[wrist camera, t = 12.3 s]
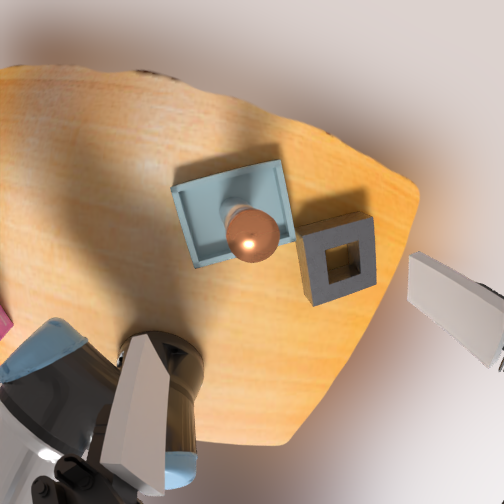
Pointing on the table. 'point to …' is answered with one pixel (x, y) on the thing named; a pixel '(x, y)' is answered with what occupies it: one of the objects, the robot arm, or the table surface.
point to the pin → (248, 230)
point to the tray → (215, 193)
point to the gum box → (4, 323)
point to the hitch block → (329, 236)
